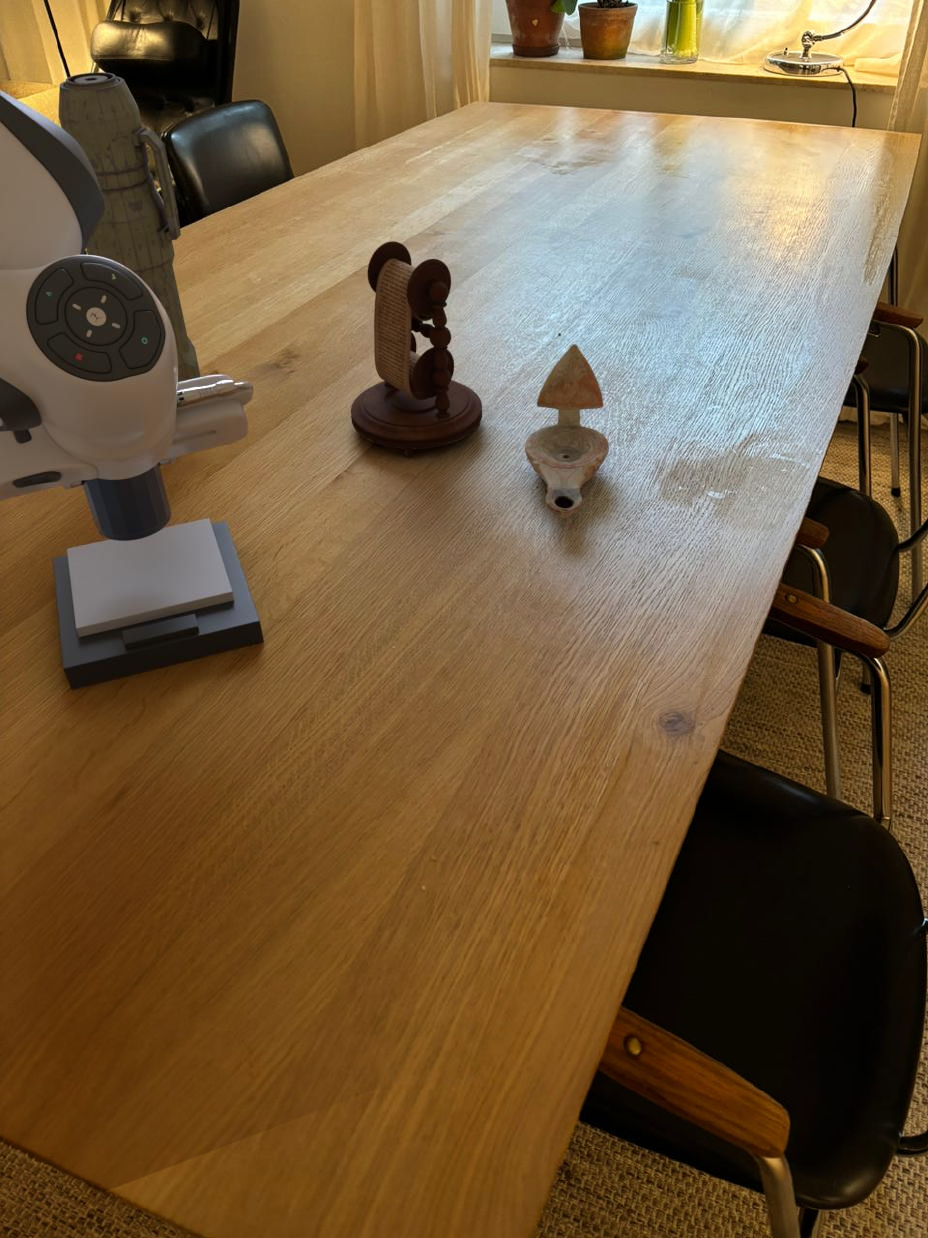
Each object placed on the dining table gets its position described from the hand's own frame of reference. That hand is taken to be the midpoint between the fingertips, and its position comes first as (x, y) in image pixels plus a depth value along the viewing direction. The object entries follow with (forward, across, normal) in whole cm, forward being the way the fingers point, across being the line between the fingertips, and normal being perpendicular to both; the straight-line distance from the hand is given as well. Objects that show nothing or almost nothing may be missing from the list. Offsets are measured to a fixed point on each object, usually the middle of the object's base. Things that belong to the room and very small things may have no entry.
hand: (118, 466), depth 82 cm
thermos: (+35, -9, -15) cm, 39 cm away
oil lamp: (+10, -43, +10) cm, 45 cm away
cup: (+3, 0, +4) cm, 5 cm away
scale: (+8, 0, +11) cm, 14 cm away
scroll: (+22, -34, -2) cm, 40 cm away
